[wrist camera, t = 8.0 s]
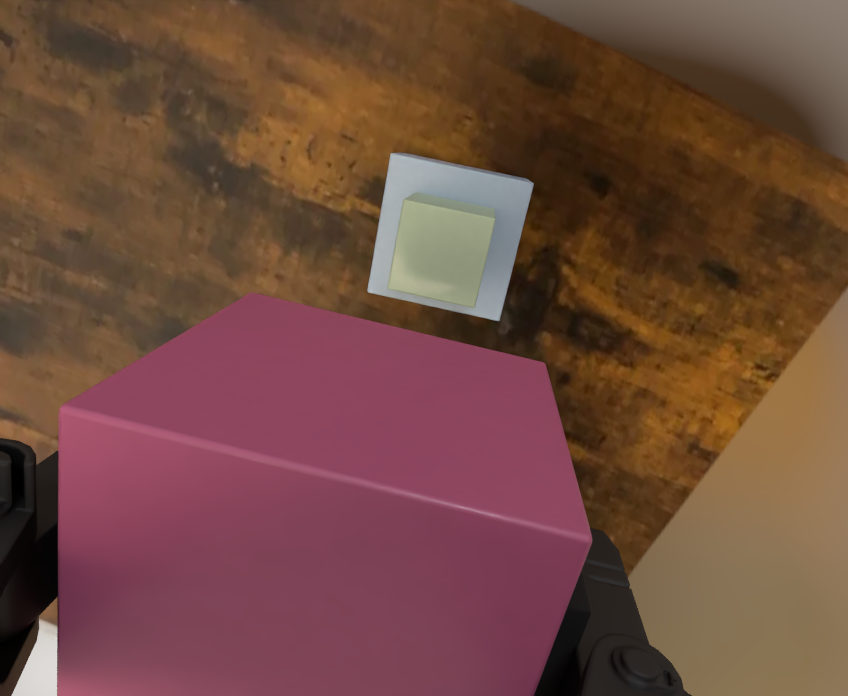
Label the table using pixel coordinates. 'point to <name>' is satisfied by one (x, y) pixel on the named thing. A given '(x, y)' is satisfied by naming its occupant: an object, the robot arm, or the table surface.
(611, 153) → the table surface
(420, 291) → the sage block
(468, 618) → the pink block
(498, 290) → the base block
